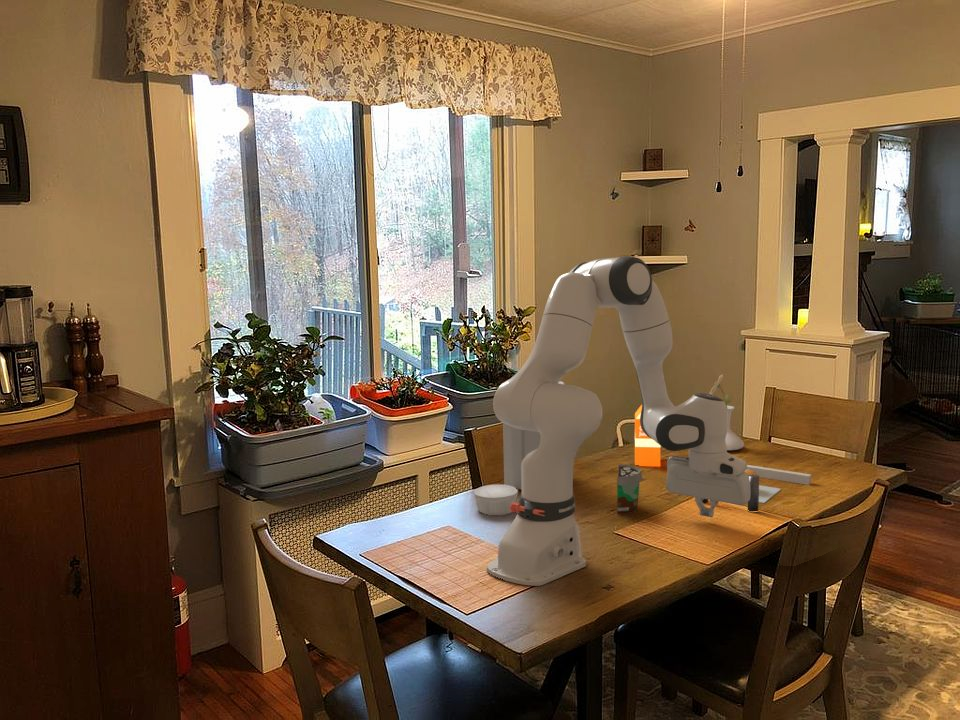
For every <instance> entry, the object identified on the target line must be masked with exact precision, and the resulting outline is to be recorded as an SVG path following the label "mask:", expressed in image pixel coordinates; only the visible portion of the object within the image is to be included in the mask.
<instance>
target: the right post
mask: <svg viewBox="0 0 960 720" xmlns="http://www.w3.org/2000/svg"><path fill="white" fill-rule="evenodd" d="M749 480H750V490H751V496H750V500H749V501H748V502H747V511H748V510H749V511H758V512H759V508H760V507H759V506H760V505H759V504H760V503H759V485H760V477H759V476H758V475H749ZM749 511H748V512H749Z"/></svg>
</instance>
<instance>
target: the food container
mask: <svg viewBox="0 0 960 720" xmlns="http://www.w3.org/2000/svg"><path fill="white" fill-rule="evenodd" d="M616 477H617V478H616V483H617V484H616V487H617V490H616V492H617V493H616V494H617V495H616V497H617V498H616V499H617V500H616V501H617V502H616V507H617V509H616V512H617V514H618V515H624V514H631V513H634V512H636V511H638V508H639V507H638V505H639V496H640V495H639V493H640V483H641V482H642V481H643V476H642V472H641V469H640V468H638V466H635V465H634V466H633V465H630V464H629V465H628V464H623V463H622V464H621V463H619V464H618V474H617V476H616Z"/></svg>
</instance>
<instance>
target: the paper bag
mask: <svg viewBox="0 0 960 720" xmlns="http://www.w3.org/2000/svg"><path fill="white" fill-rule="evenodd" d="M558 384H565V382H564V381H561V380H560V381H559V383H558ZM502 431H503V432H502V433H503V435H502V436H503V438H502V439H503V441H502V442H503V481H504V482H503V483H504V484H503V485H509V486H512V487H515V488H517V490H522V476H521V464H522V461H523V459H524V458H525V456H526V455H527V454H528V453H530V452H531V451H533V450H535V449H537V448H539V445H540V441H541V434H540V433H539V432H533V431H527V430H521V429H517V428H514V427H512V426H509V425H507V424H505V423H503V422H502Z"/></svg>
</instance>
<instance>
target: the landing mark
mask: <svg viewBox="0 0 960 720" xmlns="http://www.w3.org/2000/svg"><path fill="white" fill-rule="evenodd" d="M781 490H782V489H781V488H778V487H772V486H767V485H761V484H759V504H765V503H767V502H768V501H769V500H770V499H772V497H774V496H775V495H776V494H778V493H779V492H780V491H781Z"/></svg>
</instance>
